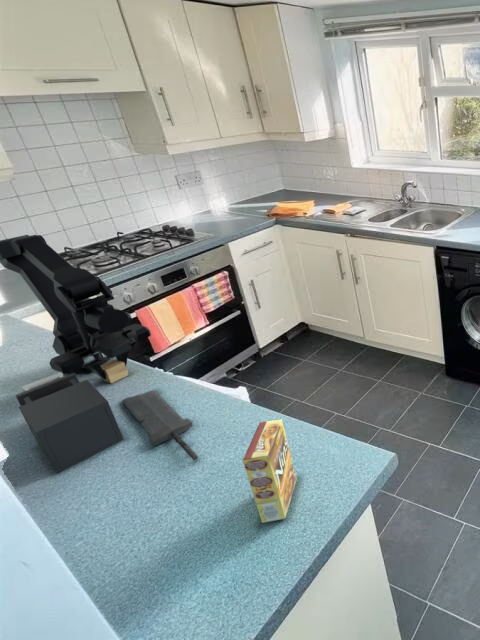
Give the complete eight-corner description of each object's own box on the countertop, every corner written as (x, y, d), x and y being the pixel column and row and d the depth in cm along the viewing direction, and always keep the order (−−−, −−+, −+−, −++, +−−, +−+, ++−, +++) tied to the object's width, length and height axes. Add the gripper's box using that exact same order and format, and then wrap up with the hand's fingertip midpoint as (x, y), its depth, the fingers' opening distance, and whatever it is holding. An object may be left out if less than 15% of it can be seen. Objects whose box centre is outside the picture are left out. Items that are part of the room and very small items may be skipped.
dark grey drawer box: (39, 446, 91) (18, 407, 87) (103, 416, 99) (86, 379, 95) (57, 473, 84) (35, 432, 80) (123, 439, 93) (107, 400, 89)
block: (102, 379, 111) (96, 367, 110) (119, 371, 114) (114, 358, 113) (111, 383, 110) (106, 370, 108) (129, 374, 113) (124, 362, 112)
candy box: (286, 519, 76) (269, 455, 70) (260, 524, 75) (241, 460, 69) (297, 478, 84) (283, 418, 78) (274, 482, 83) (258, 421, 77)
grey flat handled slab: (156, 390, 109) (154, 383, 108) (216, 450, 90) (213, 443, 89) (120, 405, 103) (117, 398, 102) (175, 473, 84) (172, 465, 83)
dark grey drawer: (26, 418, 97) (9, 387, 93) (81, 395, 104) (67, 366, 101) (46, 449, 89) (29, 416, 85) (104, 421, 96) (90, 390, 93)
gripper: (64, 349, 95) (88, 405, 101) (155, 312, 111) (171, 361, 117) (36, 339, 99) (62, 393, 105) (128, 304, 115) (146, 352, 121)
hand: (114, 374), depth 112 cm, fingers closed on block, 4 cm apart
